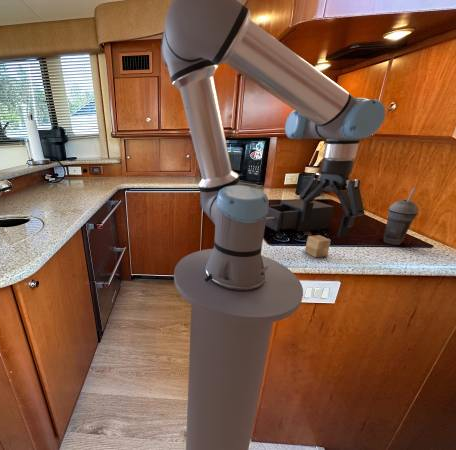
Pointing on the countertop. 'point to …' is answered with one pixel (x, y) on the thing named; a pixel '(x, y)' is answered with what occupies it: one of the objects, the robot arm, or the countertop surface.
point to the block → (317, 246)
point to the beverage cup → (399, 220)
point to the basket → (282, 217)
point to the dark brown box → (312, 215)
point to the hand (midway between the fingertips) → (322, 228)
